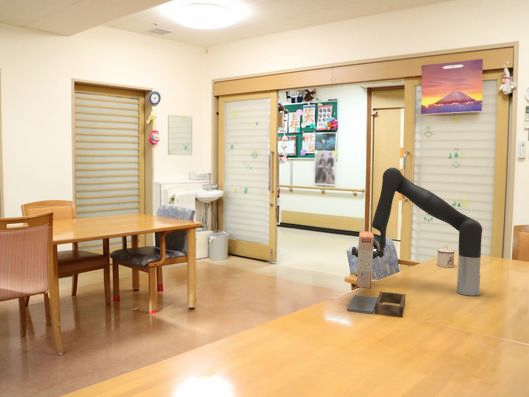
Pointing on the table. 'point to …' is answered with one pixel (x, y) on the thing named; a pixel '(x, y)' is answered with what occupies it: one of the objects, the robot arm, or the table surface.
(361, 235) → the cracker box
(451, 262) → the teacup with lid
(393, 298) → the walnut collar
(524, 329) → the table surface
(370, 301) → the flat gray rectangular board
